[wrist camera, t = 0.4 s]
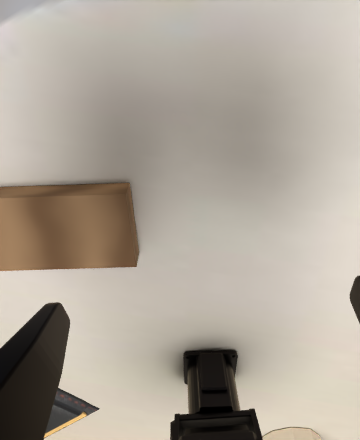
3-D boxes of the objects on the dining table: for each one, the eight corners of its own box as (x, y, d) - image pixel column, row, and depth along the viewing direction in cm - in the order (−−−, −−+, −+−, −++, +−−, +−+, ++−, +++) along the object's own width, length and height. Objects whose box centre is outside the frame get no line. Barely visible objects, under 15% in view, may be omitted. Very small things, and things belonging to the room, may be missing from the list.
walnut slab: (129, 182, 22) (125, 194, 21) (139, 252, 26) (136, 266, 24) (-21, 187, 22) (-37, 199, 21) (10, 256, 26) (-2, 270, 24)
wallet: (7, 375, 34) (101, 419, 40) (14, 360, 36) (104, 405, 42) (-71, 425, 41) (20, 457, 47) (-62, 411, 42) (25, 443, 49)
